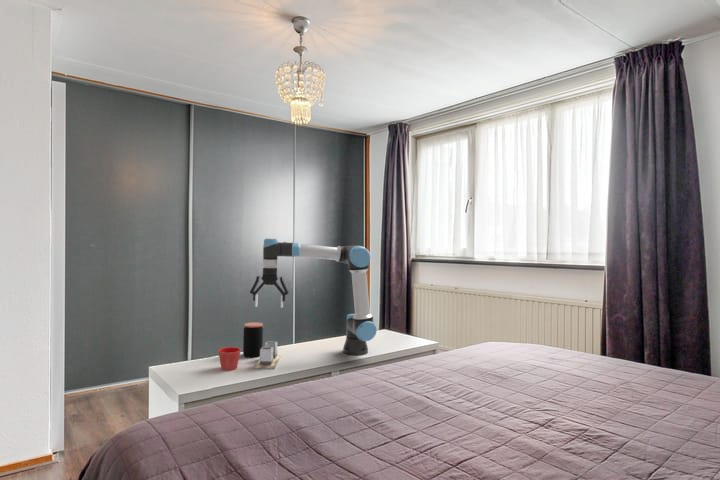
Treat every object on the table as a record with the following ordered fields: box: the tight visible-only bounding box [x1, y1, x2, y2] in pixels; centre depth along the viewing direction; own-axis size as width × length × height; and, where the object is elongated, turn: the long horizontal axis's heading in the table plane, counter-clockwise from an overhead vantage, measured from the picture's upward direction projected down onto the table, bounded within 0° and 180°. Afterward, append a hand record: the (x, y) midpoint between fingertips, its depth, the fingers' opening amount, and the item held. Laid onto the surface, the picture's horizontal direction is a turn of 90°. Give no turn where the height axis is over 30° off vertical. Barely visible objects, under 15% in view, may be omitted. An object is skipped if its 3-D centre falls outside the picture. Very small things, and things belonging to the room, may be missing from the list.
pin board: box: [254, 354, 282, 370], centre depth 230 cm, size 10×20×7 cm, turn 1°
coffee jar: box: [242, 321, 264, 359], centre depth 243 cm, size 11×11×18 cm
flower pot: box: [218, 346, 241, 372], centre depth 218 cm, size 11×11×10 cm
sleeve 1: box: [264, 340, 278, 359], centre depth 236 cm, size 6×6×8 cm
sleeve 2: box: [259, 346, 273, 365], centre depth 224 cm, size 6×6×8 cm
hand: (269, 307), depth 227 cm, fingers open, 13 cm apart
